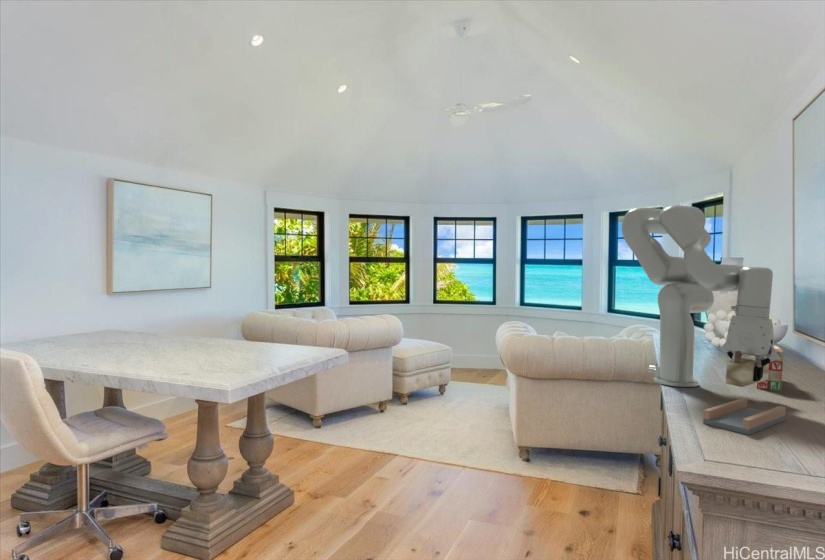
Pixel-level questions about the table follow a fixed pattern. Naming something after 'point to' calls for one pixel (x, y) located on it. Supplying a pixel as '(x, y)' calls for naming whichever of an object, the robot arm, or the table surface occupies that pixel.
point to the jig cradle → (742, 417)
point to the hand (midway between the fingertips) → (747, 377)
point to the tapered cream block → (743, 370)
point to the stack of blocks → (773, 373)
